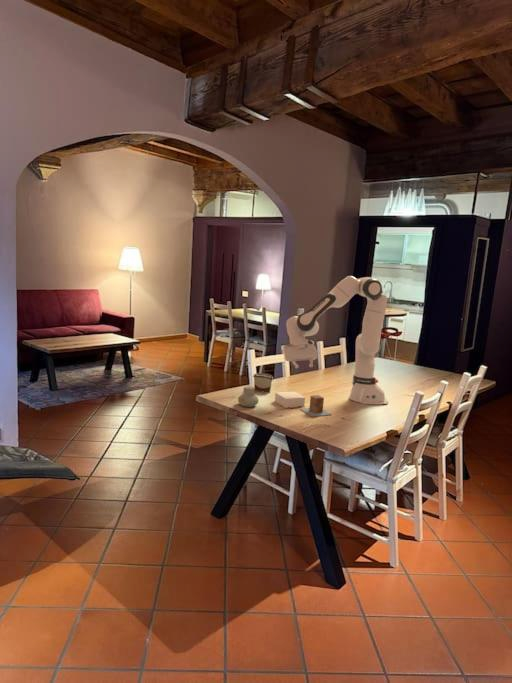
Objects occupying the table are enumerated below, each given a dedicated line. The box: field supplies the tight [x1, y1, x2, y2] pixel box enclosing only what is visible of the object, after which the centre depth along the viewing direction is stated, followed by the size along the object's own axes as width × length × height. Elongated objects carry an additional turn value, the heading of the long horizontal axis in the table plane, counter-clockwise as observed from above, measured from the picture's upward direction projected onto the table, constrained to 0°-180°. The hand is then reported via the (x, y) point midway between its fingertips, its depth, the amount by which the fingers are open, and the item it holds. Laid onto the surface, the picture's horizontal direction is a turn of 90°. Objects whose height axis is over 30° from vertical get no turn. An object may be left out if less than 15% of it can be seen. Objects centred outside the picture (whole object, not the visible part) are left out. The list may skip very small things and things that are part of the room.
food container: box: [252, 372, 274, 394], centre depth 279 cm, size 12×6×10 cm, turn 71°
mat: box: [299, 407, 332, 418], centre depth 245 cm, size 12×12×1 cm
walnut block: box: [309, 394, 325, 413], centre depth 244 cm, size 5×5×8 cm
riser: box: [274, 391, 306, 409], centre depth 256 cm, size 12×12×5 cm
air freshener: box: [237, 385, 259, 408], centre depth 248 cm, size 11×8×10 cm
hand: (304, 367), depth 257 cm, fingers open, 8 cm apart
